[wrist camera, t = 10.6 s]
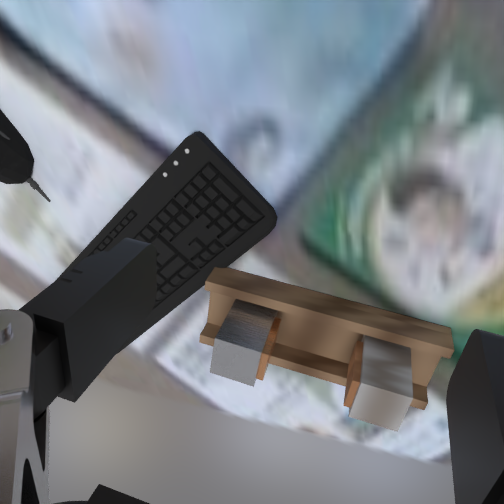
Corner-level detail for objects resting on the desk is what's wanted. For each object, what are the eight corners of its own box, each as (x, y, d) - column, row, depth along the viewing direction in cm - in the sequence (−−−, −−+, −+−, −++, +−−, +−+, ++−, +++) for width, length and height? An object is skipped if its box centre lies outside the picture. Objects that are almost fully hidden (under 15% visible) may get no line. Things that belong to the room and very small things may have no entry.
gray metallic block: (239, 291, 43) (214, 338, 37) (285, 305, 42) (268, 354, 36) (233, 323, 45) (209, 372, 39) (278, 337, 44) (260, 388, 38)
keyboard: (112, 356, 55) (103, 367, 53) (44, 295, 53) (33, 304, 51) (287, 218, 40) (282, 228, 38) (200, 125, 38) (191, 131, 36)
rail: (450, 327, 40) (462, 394, 33) (422, 386, 44) (427, 456, 37) (216, 264, 43) (183, 313, 37) (209, 323, 47) (179, 377, 40)
